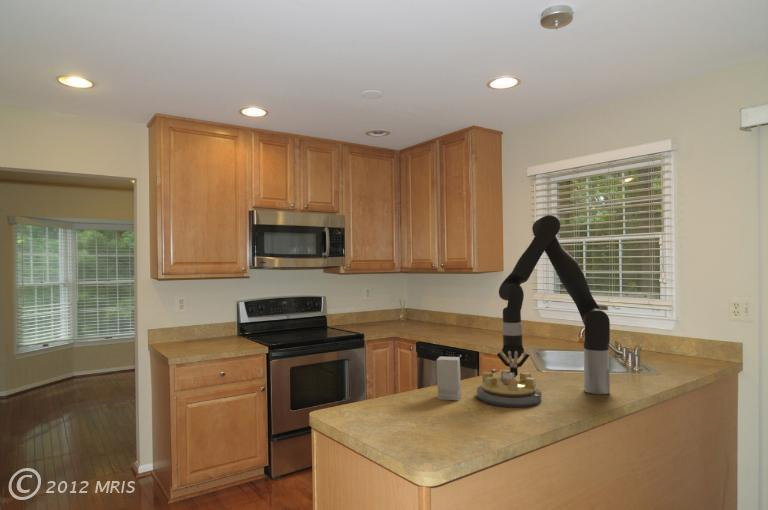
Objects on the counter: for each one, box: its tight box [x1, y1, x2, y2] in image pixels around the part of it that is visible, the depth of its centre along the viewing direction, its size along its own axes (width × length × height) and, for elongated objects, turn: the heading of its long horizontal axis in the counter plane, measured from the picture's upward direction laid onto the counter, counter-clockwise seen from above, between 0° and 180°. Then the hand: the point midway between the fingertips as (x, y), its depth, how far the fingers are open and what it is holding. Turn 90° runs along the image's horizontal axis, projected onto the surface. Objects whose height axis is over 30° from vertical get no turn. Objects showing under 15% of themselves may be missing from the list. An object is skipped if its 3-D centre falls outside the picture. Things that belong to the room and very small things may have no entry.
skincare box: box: [436, 355, 462, 401], centre depth 193 cm, size 8×7×16 cm
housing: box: [476, 385, 542, 409], centre depth 192 cm, size 24×24×3 cm
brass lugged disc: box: [481, 369, 537, 397], centre depth 192 cm, size 20×20×6 cm
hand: (514, 376), depth 199 cm, fingers closed
